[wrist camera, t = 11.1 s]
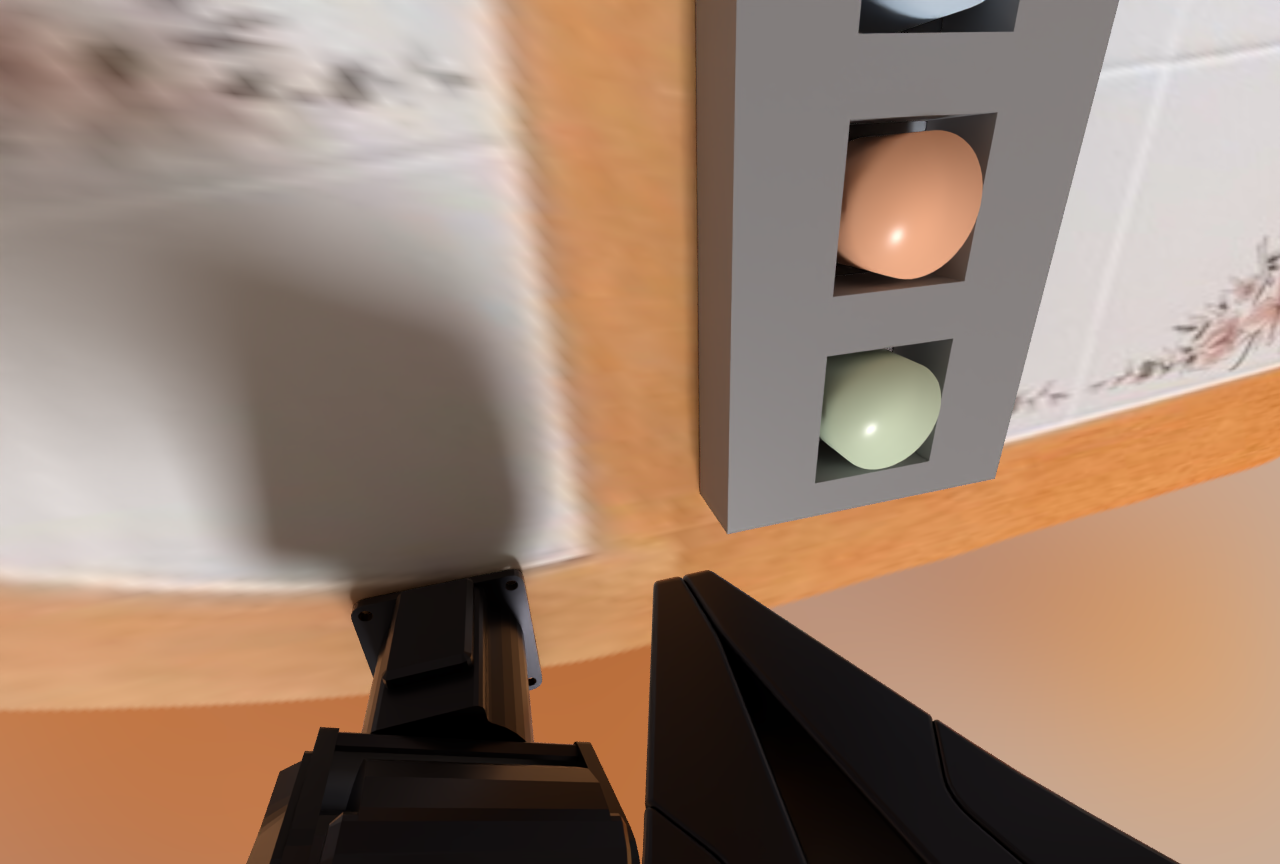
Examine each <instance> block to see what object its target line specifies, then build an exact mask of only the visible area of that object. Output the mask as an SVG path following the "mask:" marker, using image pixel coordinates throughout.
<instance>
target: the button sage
mask: <svg viewBox="0 0 1280 864" xmlns="http://www.w3.org/2000/svg"><path fill="white" fill-rule="evenodd" d="M940 406H941V391H940V386H939V383H938V381H937V379H936V377H935V376H934V374H933V373H932V372H931V371H930V370H929V369H928V368H926V367H925V366H923V365H921V364H918V363H916V362H914V361H912V360H909V359H907V358H905V357H902V356H900V355H898V354H896V353H893V352H891V351H889V350H886V349H884V348H883V349H876V350H869V351H862V352H855V353H848V354H841V355H834V356H827V363H826V373H825V384H824V394H823V404H822V415H821V425H820V436H819V438H820V439H821V440H823V441H824V442H825V443H827V444H828V445H829V446H830V447H832V448H833V449H834V450H835V451H837V452H838V453H839V454H841V455H842V456H843V457H844V458H846V459H847V460H848V461H850V462H851V463H852V464H854V465H856V466H858V467H860V468H864V469H882V468H886V467H890V466H892V465H895V464H897V463H899V462H901V461H903V460H904V459H906V458H907V457H909V456H910V455H911V454H913V453H914V452H915V451H916V450H917V449H918V448H919V447H920V446H921V445H922V444H923V443H924V441H925V440H926V439H927V437H928V436H929V434H930V433H931V431H932V429H933V427H934V425H935V423H936V421H937V418H938V415H939V411H940Z"/></svg>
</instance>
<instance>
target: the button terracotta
mask: <svg viewBox="0 0 1280 864" xmlns="http://www.w3.org/2000/svg"><path fill="white" fill-rule="evenodd" d="M982 188H983V182H982V173H981V167H980V164H979V161H978V158H977V156H976V154H975V152H974V151H973V149H972V148H971V146H970V145H969V144H968V143H967V142H966V141H965V140H964V139H963V138H961V137H960V136H958V135H956V134H954V133H951V132H948V131H943V130H932V131H922V132H911V133H901V134H890V135H879V136H869V137H861V138H857V139H854V140H851V141H849V142H848V145H847V155H846V166H845V176H844V186H843V197H842V207H841V217H840V228H839V238H838V249H837V259H836V263H839V264H843V265H847V266H851V267H854V268H858V269H862V270H866V271H870V272H874V273H878V274H882V275H886V276H890V277H894V278H899V279H914V278H919V277H922V276H925V275H928V274H930V273H932V272H934V271H935V270H937V269H939V268H940V267H942V266H943V265H944V264H945V263H947V262H948V261H949V260H950V259H951V258H952V257H953V256H954V255H955V254H956V253H957V252H958V250H959V249H960V248H961V247H962V245H963V244H964V242H965V241H966V239H967V238H968V236H969V234H970V232H971V231H972V228H973V226H974V224H975V222H976V219H977V216H978V213H979V209H980V205H981V199H982Z"/></svg>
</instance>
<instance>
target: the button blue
mask: <svg viewBox="0 0 1280 864" xmlns="http://www.w3.org/2000/svg"><path fill="white" fill-rule="evenodd" d="M983 1H985V0H861V10H860V20H859V31H858V32H860V33H862V34H873V33H897V32H900V31H903V30H906V29H909V28H912V27H915V26H918V25H921V24H924V23H926V22H929V21H932V20H935V19H938V18H941V17H944V16H947V15H950V14H953V13H956V12H959V11H962V10H965V9H968V8H971V7H973V6H975V5H977V4H980V3H982V2H983Z"/></svg>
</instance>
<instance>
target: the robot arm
mask: <svg viewBox="0 0 1280 864" xmlns="http://www.w3.org/2000/svg"><path fill="white" fill-rule="evenodd" d="M508 581H516V582H515V583H514V584H507V582H508ZM363 611H369V612H371V614H364V613H362V612H363ZM351 619H352V622H353V625H354V627H355V630H356V633H357V635H358V638H359V641H360V643H361V646H362V649H363V651H364V654H365V657H366V659H367V662H368V665H369V667H370V670H371V673H372V675H373V682H372V687H371V692H370V696H369V701H368V706H367V710H366V715H365V720H364V725H363V729H362V733H351V732H339V728H325V727H320V729H319V733H318V736H317V740H316V743H315V746H314V749H313V751H305V752H304V755H303V758H302V761H301V762H298V763H297V764H294V765H292V766H290V767H288V768H286V769H284V770H282V771H280V773H279V776H278V778H277V782H276V784H275V787H274V790H273V793H272V796H271V799H270V802H269V805H268V808H267V811H266V814H265V817H264V819H263V822H262V825H261V828H260V831H259V833H258V836H257V839H256V841H255V844H254V846H253V849H252V851H251V854H250V856H249V858H248V861H247V863H246V864H640V860H639V854H638V850H637V845H636V841H635V838H634V835H633V833H632V830H631V827H630V825H629V823H628V821H627V819H626V816H625V814H624V812H623V810H622V808H621V806H620V804H619V802H618V800H617V797H616V795H615V793H614V791H613V789H612V787H611V785H610V783H609V781H608V778H607V776H606V774H605V772H604V770H603V768H602V766H601V764H600V762H599V759H598V757H597V755H596V753H595V751H594V749H593V747H592V745H591V743H590V742H575V743H574V744H573V745H572V744H554V743H535V742H534V740H533V729H532V720H531V719H532V718H531V707H530V696H529V690H532V689H535V688H537V687H538V686H540V684H541V683H542V674H541V668H540V662H539V657H538V652H537V646H536V641H535V636H534V630H533V625H532V620H531V614H530V609H529V603H528V598H527V593H526V587H525V582H524V577H523V575H522V573H521V572H520V571H518V570H515V569H510V570H504V571H500V572H495V573H490V574H485V575H480V576H475V577H470V578H464V579H460V580H455V581H450V582H445V583H440V584H435V585H430V586H425V587H420V588H415V589H410V590H406V591H401V592H397V593H392V594H387V595H382V596H377V597H372V598H367V599H363V600H360V601H358V602H357V603H356V604H355V605H354V608H353V611H352V614H351ZM650 668H651V669H650V692H649V693H650V694H649V718H648V745H647V746H648V747H647V770H646V796H645V797H646V798H645V806H646V810H645V814H644V839H643V857H642V864H1180V863H1178V862H1176V861H1174V860H1173V859H1171V858H1169V857H1167V856H1165V855H1164V854H1162V853H1160V852H1158V851H1157V850H1155V849H1153V848H1151V847H1149V846H1148V845H1146V844H1144V843H1142V842H1141V841H1139V840H1137V839H1135V838H1133V837H1132V836H1130V835H1128V834H1126V833H1125V832H1123V831H1121V830H1119V829H1117V828H1116V827H1114V826H1112V825H1110V824H1109V823H1107V822H1105V821H1103V820H1101V819H1100V818H1098V817H1096V816H1094V815H1092V814H1091V813H1089V812H1087V811H1085V810H1084V809H1082V808H1080V807H1078V806H1077V805H1075V804H1073V803H1072V802H1070V801H1068V800H1066V799H1065V798H1063V797H1061V796H1060V795H1058V794H1056V793H1054V792H1053V791H1051V790H1049V789H1047V788H1046V787H1044V786H1042V785H1041V784H1039V783H1037V782H1036V781H1034V780H1032V779H1030V778H1029V777H1027V776H1025V775H1023V774H1021V773H1020V772H1019V771H1017V770H1015V769H1014V768H1012V767H1011V766H1009V765H1007V764H1006V763H1004V762H1003V761H1001V760H1000V759H998V758H996V757H995V756H993V755H992V754H990V753H988V752H987V751H985V750H983V749H982V748H981V747H979V746H977V745H976V744H974V743H973V742H971V741H969V740H968V739H966V738H965V737H963V736H962V735H960V734H959V733H957V732H956V731H954V730H953V729H951V728H950V727H948V726H947V725H945V724H943V723H942V722H940V721H939V720H934V721H932V717H931V716H930V715H929V714H928V713H926V712H925V711H923V710H922V709H920V708H919V707H917V706H916V705H914V704H913V703H911V702H910V701H908V700H907V699H905V698H904V697H902V696H901V695H899V694H898V693H896V692H895V691H893V690H892V689H890V688H889V687H887V686H885V685H884V684H882V683H881V682H879V681H878V680H876V679H875V678H873V677H872V676H870V675H869V674H867V673H866V672H864V671H863V670H861V669H860V668H858V667H856V666H855V665H854V664H852V663H851V662H849V661H848V660H846V659H844V658H843V657H841V656H840V655H838V654H837V653H835V652H834V651H832V650H831V649H829V648H828V647H826V646H825V645H823V644H822V643H820V642H819V641H817V640H816V639H814V638H812V637H811V636H809V635H808V634H807V633H805V632H803V631H802V630H800V629H799V628H797V627H796V626H794V625H793V624H791V623H790V622H788V621H787V620H785V619H784V618H782V617H781V616H779V615H778V614H776V613H774V612H773V611H772V610H770V609H769V608H767V607H765V606H764V605H762V604H761V603H759V602H758V601H756V600H755V599H753V598H752V597H750V596H749V595H747V594H746V593H744V592H743V591H741V590H740V589H738V588H737V587H735V586H734V585H732V584H731V583H729V582H728V581H726V580H724V579H723V578H721V577H720V576H718V575H717V574H715V573H714V572H712V571H709V570H705V571H700V572H696V573H691V574H687V575H685V576H684V577H683V579H682V578H680V577H673V578H669V579H664V580H660V581H656V582H655V584H654V588H653V614H652V640H651V667H650ZM531 677H532V678H531ZM528 678H531V679H528Z"/></svg>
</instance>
